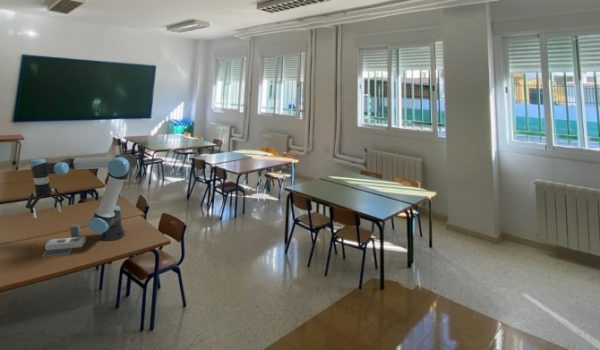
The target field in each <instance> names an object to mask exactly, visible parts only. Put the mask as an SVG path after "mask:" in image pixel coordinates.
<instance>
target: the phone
mask: <svg viewBox="0 0 600 350" xmlns="http://www.w3.org/2000/svg"><path fill="white" fill-rule="evenodd" d="M72 250H73V248H66V249H55V250H45V252H44V253H43V254H42V255H41V257H42V258H44V257H45V258H46V257H54V256H65V255H69V254H70V253H71V251H72Z"/></svg>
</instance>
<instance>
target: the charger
mask: <svg viewBox="0 0 600 350" xmlns="http://www.w3.org/2000/svg"><path fill="white" fill-rule="evenodd" d="M69 228H70V235H71V237H70V238H74V237H82V234H81V228H80V224H79V223H78V224H71V225H70V227H69Z"/></svg>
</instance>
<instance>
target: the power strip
mask: <svg viewBox="0 0 600 350" xmlns="http://www.w3.org/2000/svg"><path fill="white" fill-rule="evenodd" d="M86 242H87V240H86V236H84V235H83V236H82V235H81V237H74V238H72V237H64V238H63V237H62V238H54V239H49V240H48V241H47V243H45V246H44V248H45V251H53V250H63V249H73V248H82V247H83V246H84V244H85V243H86Z"/></svg>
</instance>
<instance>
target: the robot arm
mask: <svg viewBox="0 0 600 350" xmlns="http://www.w3.org/2000/svg"><path fill="white" fill-rule="evenodd" d="M136 167H137V160H136V158H135V156H133V155H131V154H127V153H126V154H116V155H114V156H97V157H66V158H65V159H62V160H58V161H54V162H48V161H47V160H46V159H44V158H36V159H32V160H30V169H31V173H32V178H33V183H34V189H35V191H34V192H29V197H28V200H27V202H26V204H25V208H26V209H29V211H30V212H29V213H30V214H32V216H33V217H32V218H33V219H37V217H38V216H37V213H36V208H35V206H36V205H37V203H38V202H39V201H40V199H44V198H49V197H51V198H52V199H54V200H55V201H57V202H56V205H57V210H58V212H59V213H61V212H62V207H63V203H62V202H63V201H65V198H64V197H63V196H62V195H61V194H60V192H58V189H57V188H56V187H54V188H51V184H50V178H49V175H66V174H67V173H68V172H69V171H72V170H93V169H106V170H107V176H108V179H107V183H106V186H105V189H104V192H103V195H102V198H101V201H100V204H99V207H98V208H97V209H95V211H94V214H93V216H92V218H91V219H90V220H89V221H88V228H89V229H90V231H92V232H93V233H95V234H100V239H101V240H103V241H106V242H107V241H110V242H111V241H116V240H120V239H123V238H124V237H125V236H126V230H125V229H124V227H123V225H122V224H123V223H122V215H121V214H122V213H121V212H122V211H121V207H120V206H119V205H117V202H118V199H119V196H120V193H121V191H122V187H123V185H124V182H125V181H126V180H128V178H129V175H130V172H132V171H133V170H134V169H135V168H136ZM52 192H53V193H54V194H55V195H56V196H58V197H56V196H55V195H53V194H52ZM34 197H35V198H34Z"/></svg>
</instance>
